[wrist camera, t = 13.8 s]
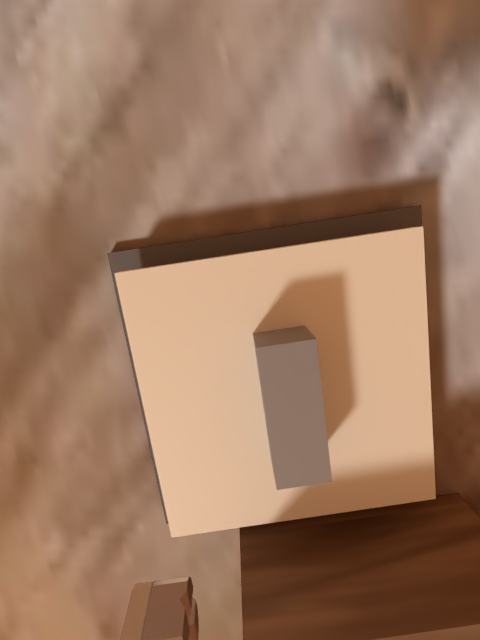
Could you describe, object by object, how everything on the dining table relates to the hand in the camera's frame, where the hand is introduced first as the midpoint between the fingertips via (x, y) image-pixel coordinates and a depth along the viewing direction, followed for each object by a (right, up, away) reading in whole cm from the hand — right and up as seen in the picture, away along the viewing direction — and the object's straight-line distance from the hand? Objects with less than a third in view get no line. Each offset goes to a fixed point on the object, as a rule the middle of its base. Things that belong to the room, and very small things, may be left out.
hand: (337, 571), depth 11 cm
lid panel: (0, +3, +14) cm, 15 cm away
